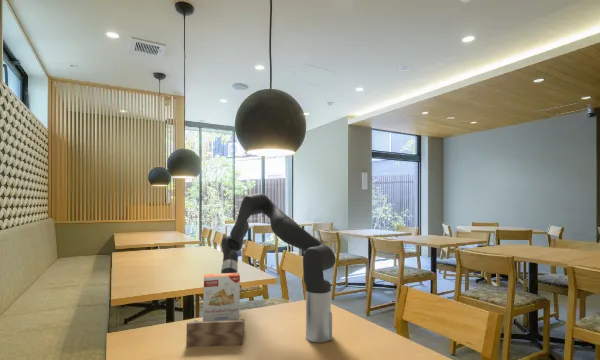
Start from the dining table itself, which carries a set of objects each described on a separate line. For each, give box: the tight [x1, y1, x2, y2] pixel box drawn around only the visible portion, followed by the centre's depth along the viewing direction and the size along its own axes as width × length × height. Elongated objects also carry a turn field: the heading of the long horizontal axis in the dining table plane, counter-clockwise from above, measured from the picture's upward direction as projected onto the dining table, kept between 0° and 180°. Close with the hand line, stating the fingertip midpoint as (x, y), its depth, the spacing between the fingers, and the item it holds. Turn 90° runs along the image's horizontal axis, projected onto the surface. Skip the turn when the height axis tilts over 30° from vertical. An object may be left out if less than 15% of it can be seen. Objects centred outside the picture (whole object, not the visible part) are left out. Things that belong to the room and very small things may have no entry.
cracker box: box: [202, 272, 241, 321], centre depth 133 cm, size 14×6×21 cm, turn 105°
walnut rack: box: [185, 318, 246, 348], centre depth 122 cm, size 19×12×8 cm, turn 95°
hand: (225, 306), depth 144 cm, fingers closed
